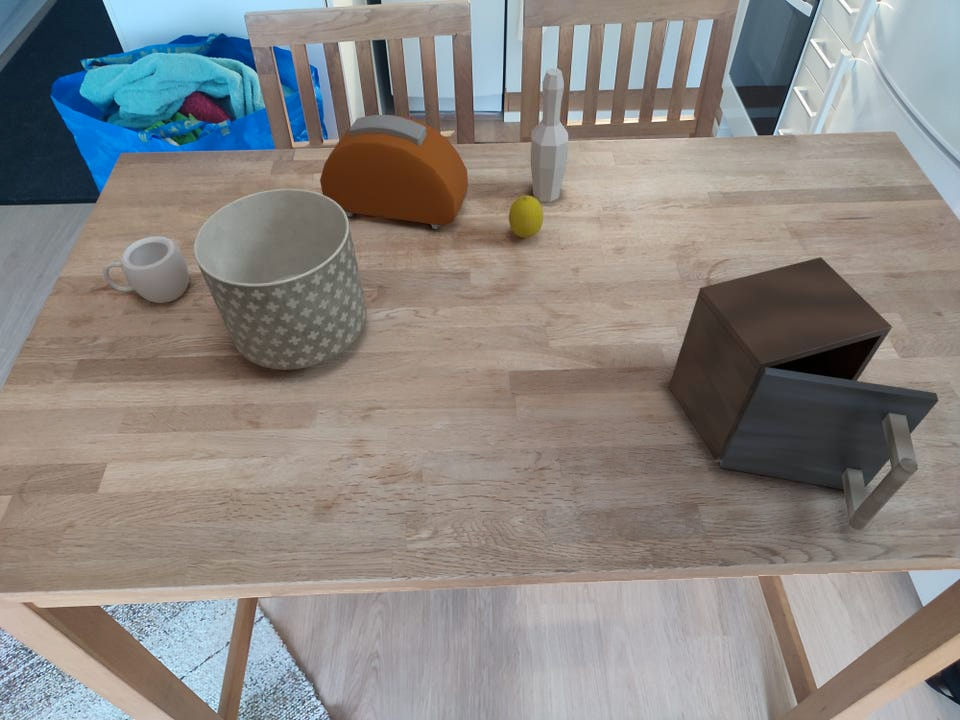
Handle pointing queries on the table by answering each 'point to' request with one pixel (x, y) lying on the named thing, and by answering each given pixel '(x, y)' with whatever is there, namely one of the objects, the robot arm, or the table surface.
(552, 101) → the low poly bottle
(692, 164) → the table surface
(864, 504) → the door
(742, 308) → the cupboard
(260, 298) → the planter
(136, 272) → the mug
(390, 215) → the orange toaster
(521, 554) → the table surface
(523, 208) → the lemon
